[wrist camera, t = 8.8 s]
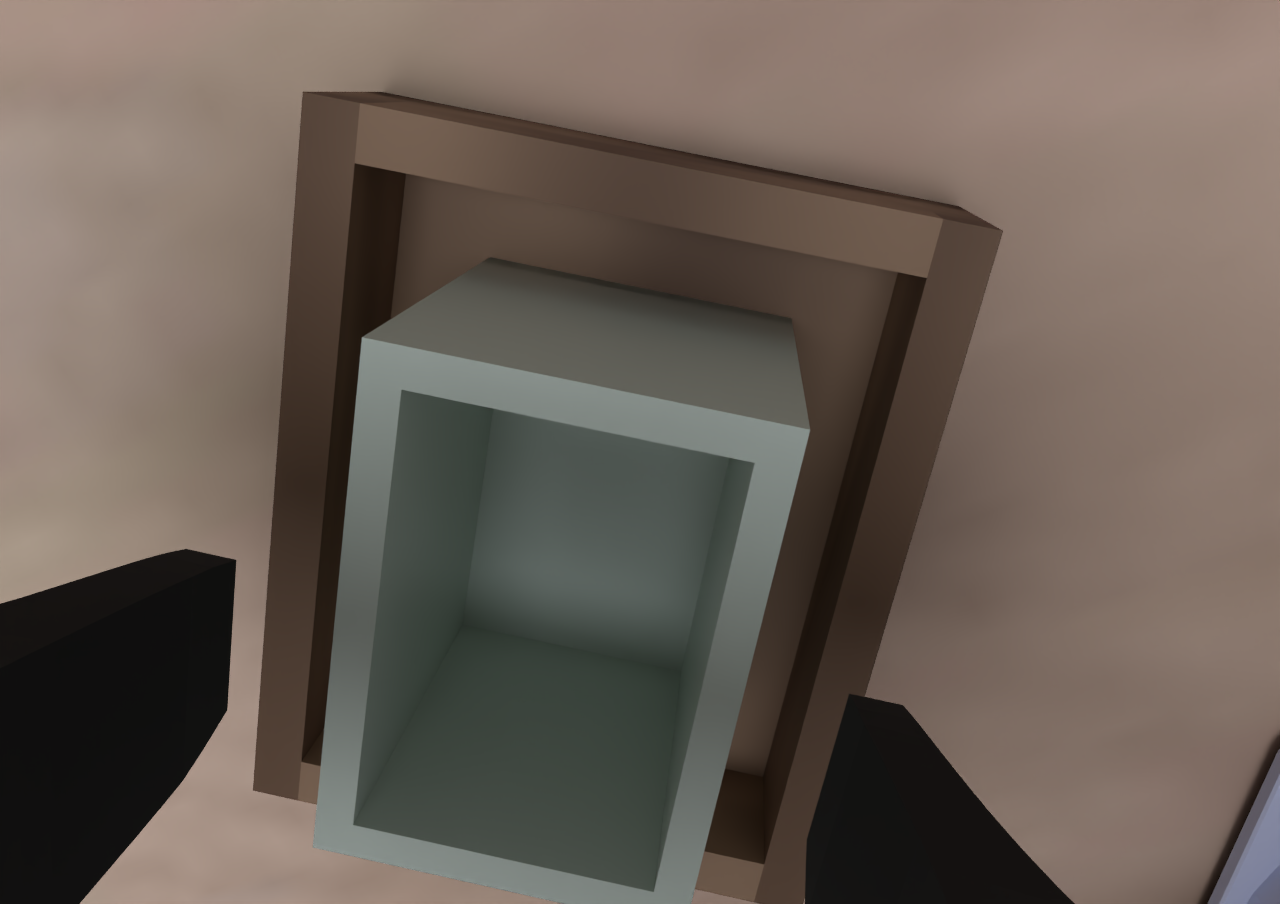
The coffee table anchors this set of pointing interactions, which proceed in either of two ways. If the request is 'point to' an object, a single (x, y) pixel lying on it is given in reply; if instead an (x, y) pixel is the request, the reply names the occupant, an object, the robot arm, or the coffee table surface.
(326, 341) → the walnut crate
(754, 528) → the green crate
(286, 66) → the coffee table surface
